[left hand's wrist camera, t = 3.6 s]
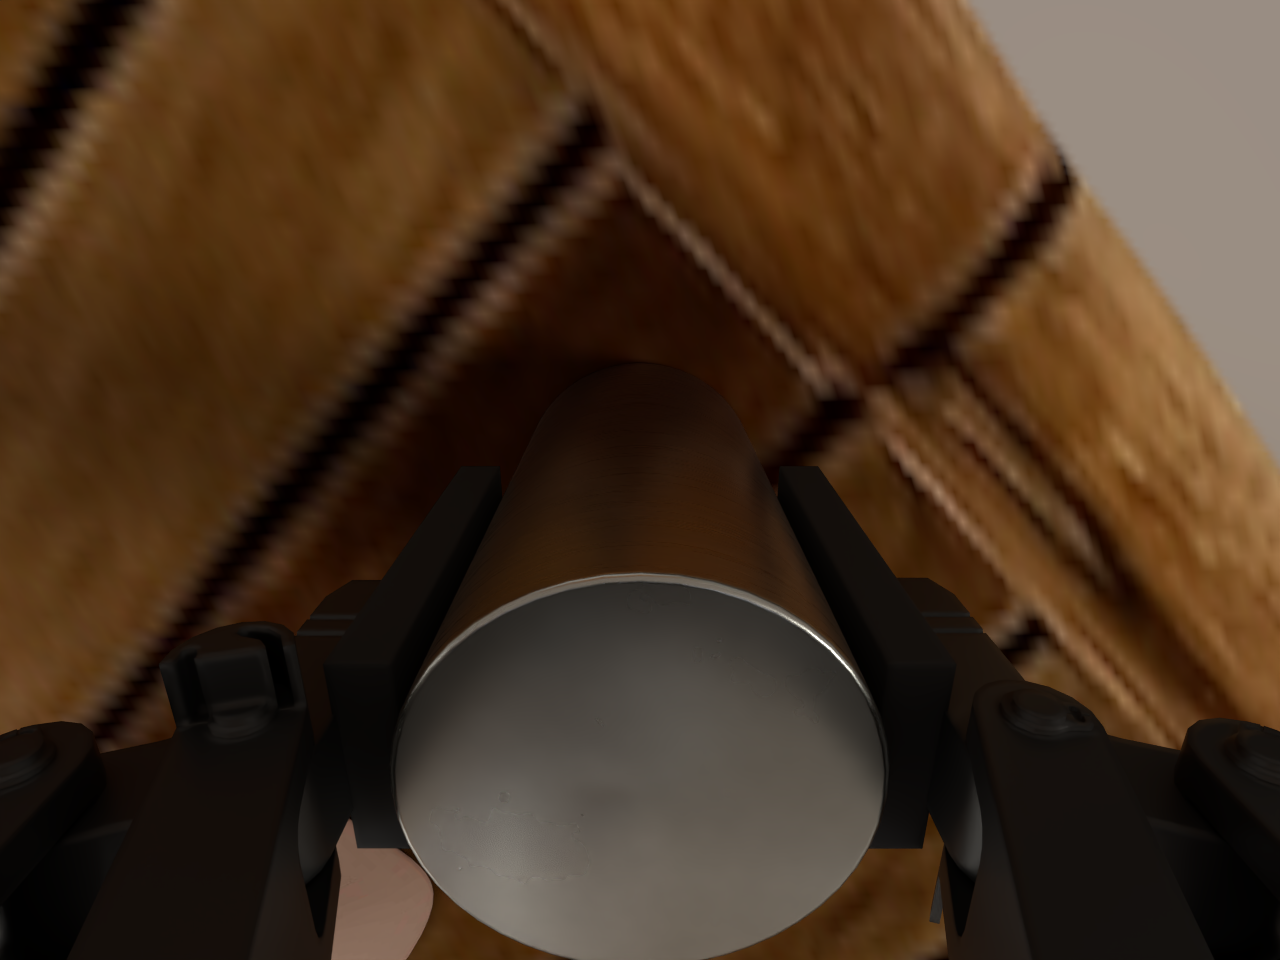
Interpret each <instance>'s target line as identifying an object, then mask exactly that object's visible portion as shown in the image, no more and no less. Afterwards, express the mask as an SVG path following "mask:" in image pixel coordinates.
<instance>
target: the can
mask: <svg viewBox="0 0 1280 960" xmlns="http://www.w3.org/2000/svg"><path fill="white" fill-rule="evenodd" d="M390 774H391V789H392V796H393V800H394V805H395V809H396V813H397V817H398V821H399V823H400V825H401V828H402V830H403V833H404V835H405V838H406V840H407V843H408V844H409V846H410V848H411V849H412V851H413V853H414V854H415V856H416V858H417V859H418V861H419V863H420V864H421V866H422V867H423V868H424V870H425V871H426V872H427V873H428V875H429V876H430V877H431V878H432V880H433V881H434V882H435V883H436V885H437V886H438V887H439V888H440V889H441V890H442V891H444V892H445V893H446V894H447V895H448V896H449V897H450V898H451V899H452V900H453V901H454V902H455V903H456V904H457V905H459V906H460V907H461V908H463V909H464V910H465V911H466V912H468V913H469V914H470V915H472V916H473V917H474V918H476V919H477V920H479V921H480V922H482V923H484V924H485V925H487V926H489V927H490V928H492V929H494V930H495V931H497V932H499V933H501V934H502V935H505V936H507V937H509V938H511V939H513V940H516V941H518V942H520V943H522V944H524V945H526V946H529V947H532V948H535V949H538V950H541V951H544V952H547V953H550V954H553V955H556V956H561V957H565V958H569V959H573V960H706V959H710V958H715V957H719V956H723V955H726V954H729V953H732V952H736V951H739V950H742V949H745V948H748V947H750V946H753V945H755V944H757V943H759V942H762V941H764V940H766V939H768V938H771V937H773V936H775V935H777V934H779V933H780V932H782V931H784V930H786V929H787V928H789V927H791V926H792V925H794V924H796V923H798V922H799V921H801V920H802V919H803V918H805V917H806V916H808V915H809V914H810V913H812V912H813V911H814V910H816V909H817V908H818V907H820V906H821V905H822V904H823V903H824V902H825V901H826V900H827V899H829V898H830V897H831V896H832V895H833V894H834V893H835V892H836V891H837V890H838V889H839V888H840V887H841V886H842V885H843V884H844V882H845V881H846V880H847V879H848V877H849V876H850V875H851V874H852V873H853V871H854V870H855V869H856V868H857V866H858V865H859V863H860V862H861V860H862V858H863V857H864V855H865V853H866V852H867V850H868V848H869V847H870V845H871V843H872V841H873V838H874V836H875V834H876V831H877V829H878V826H879V824H880V822H881V818H882V814H883V810H884V806H885V802H886V798H887V791H888V778H889V755H888V744H887V738H886V734H885V730H884V726H883V722H882V718H881V715H880V712H879V710H878V708H877V705H876V703H875V701H874V699H873V697H872V694H871V692H870V690H869V688H868V686H867V684H866V681H865V679H864V677H863V675H862V673H861V671H860V669H859V667H858V665H857V663H856V661H855V659H854V657H853V654H852V652H851V650H850V648H849V646H848V644H847V642H846V640H845V638H844V636H843V634H842V632H841V630H840V627H839V625H838V623H837V621H836V619H835V617H834V615H833V613H832V611H831V609H830V607H829V605H828V602H827V600H826V598H825V596H824V594H823V592H822V590H821V588H820V586H819V584H818V582H817V580H816V578H815V575H814V573H813V571H812V569H811V567H810V565H809V563H808V561H807V559H806V557H805V555H804V553H803V551H802V548H801V546H800V544H799V542H798V540H797V538H796V536H795V534H794V532H793V530H792V528H791V526H790V523H789V521H788V519H787V517H786V515H785V513H784V511H783V509H782V507H781V505H780V503H779V501H778V499H777V496H776V494H775V492H774V490H773V488H772V486H771V484H770V482H769V480H768V478H767V476H766V474H765V472H764V469H763V467H762V465H761V463H760V461H759V459H758V457H757V455H756V453H755V451H754V449H753V447H752V444H751V442H750V440H749V438H748V436H747V434H746V432H745V430H744V428H743V426H742V424H741V422H740V420H739V418H738V417H737V415H736V414H735V412H734V410H733V409H732V408H731V406H730V405H729V404H728V403H727V402H726V401H725V399H724V398H723V397H722V396H721V395H720V394H718V393H717V392H716V391H715V390H714V389H713V388H712V387H710V386H709V385H707V384H706V383H704V382H703V381H701V380H700V379H698V378H696V377H694V376H692V375H690V374H688V373H686V372H683V371H681V370H678V369H675V368H672V367H667V366H663V365H658V364H646V363H633V364H622V365H617V366H612V367H608V368H605V369H602V370H599V371H596V372H594V373H592V374H590V375H588V376H585V377H583V378H581V379H580V380H578V381H577V382H575V383H574V384H572V385H571V386H569V387H568V388H567V389H566V390H565V391H563V392H562V393H561V394H560V395H559V396H558V397H557V398H556V399H555V400H554V401H553V403H552V404H551V405H550V406H549V407H548V409H547V410H546V412H545V413H544V415H543V416H542V418H541V419H540V421H539V423H538V425H537V427H536V429H535V432H534V434H533V436H532V438H531V440H530V442H529V444H528V446H527V448H526V450H525V452H524V454H523V456H522V458H521V461H520V463H519V465H518V467H517V469H516V471H515V473H514V475H513V477H512V479H511V481H510V483H509V485H508V487H507V490H506V492H505V494H504V496H503V498H502V500H501V502H500V504H499V506H498V508H497V510H496V512H495V514H494V517H493V519H492V521H491V523H490V525H489V527H488V529H487V531H486V533H485V535H484V537H483V539H482V541H481V543H480V546H479V548H478V550H477V552H476V554H475V556H474V558H473V560H472V562H471V564H470V566H469V568H468V570H467V572H466V575H465V577H464V579H463V581H462V583H461V585H460V587H459V589H458V591H457V593H456V595H455V597H454V599H453V601H452V604H451V606H450V608H449V610H448V612H447V614H446V616H445V618H444V620H443V622H442V624H441V626H440V628H439V630H438V633H437V635H436V637H435V639H434V641H433V643H432V645H431V647H430V649H429V651H428V653H427V655H426V657H425V659H424V662H423V664H422V666H421V668H420V670H419V672H418V674H417V676H416V678H415V680H414V682H413V684H412V686H411V689H410V691H409V693H408V695H407V697H406V699H405V702H404V704H403V706H402V708H401V710H400V712H399V716H398V720H397V723H396V727H395V731H394V734H393V738H392V747H391V757H390Z"/></svg>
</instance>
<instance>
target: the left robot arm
mask: <svg viewBox="0 0 1280 960" xmlns="http://www.w3.org/2000/svg"><path fill="white" fill-rule="evenodd" d="M777 499H778V501H779V503H780V505H781V507H782V509H783V511H784V513H785V515H786V517H787V519H788V521H789V523H790V526H791V528H792V530H793V532H794V534H795V536H796V538H797V540H798V542H799V544H800V546H801V548H802V551H803V553H804V555H805V557H806V559H807V561H808V563H809V565H810V567H811V569H812V571H813V573H814V575H815V578H816V580H817V582H818V584H819V586H820V588H821V590H822V592H823V594H824V596H825V598H826V600H827V602H828V605H829V607H830V609H831V611H832V613H833V615H834V617H835V619H836V621H837V623H838V625H839V627H840V630H841V632H842V634H843V636H844V638H845V640H846V642H847V644H848V646H849V648H850V650H851V652H852V654H853V657H854V659H855V661H856V663H857V665H858V667H859V669H860V671H861V673H862V675H863V677H864V679H865V681H866V684H867V686H868V688H869V690H870V692H871V694H872V697H873V699H874V701H875V703H876V705H877V708H878V710H879V712H880V715H881V718H882V722H883V726H884V730H885V734H886V738H887V744H888V755H889V778H888V791H887V798H886V802H885V806H884V810H883V814H882V818H881V822H880V824H879V826H878V829H877V831H876V834H875V836H874V838H873V841H872V843H871V845H870V847H869V848H922V847H923V842H924V836H925V831H926V826H927V820H928V815H929V813H930V815H931V817H932V819H933V821H934V823H935V825H936V827H937V829H938V831H939V834H940V836H941V838H942V840H943V842H944V847H943V852H942V857H941V862H940V867H939V872H938V877H937V882H936V887H935V892H934V897H933V902H932V907H931V914H930V922H934V923H938V924H939V923H940V918H941V913H942V908H943V914H944V923H945V931H946V939H947V947H948V956H949V960H1280V732H1279V731H1277V730H1274V729H1272V728H1269V727H1266V726H1264V727H1262V726H1260V725H1259V724H1255V723H1251V722H1246V721H1239V720H1231V719H1224V718H1214V719H1206V720H1199V721H1197V722H1196V723H1195V724H1193V725H1192V726H1191V727H1189V728H1188V730H1187V733H1186V736H1185V739H1184V742H1183V745H1182V748H1181V751H1180V750H1175V749H1171V748H1166V747H1161V746H1156V745H1151V744H1146V743H1141V742H1137V741H1132V740H1127V739H1122V738H1118V737H1114V736H1111V735H1107V733H1106V731H1105V729H1104V727H1103V726H1102V724H1101V723H1100V722H1099V720H1098V719H1097V718H1096V717H1095V715H1094V714H1093V713H1092V711H1090V710H1089V709H1088V708H1086V707H1085V706H1083V705H1082V704H1081V703H1079V702H1078V701H1076V700H1075V699H1074V698H1072V697H1070V696H1068V695H1066V694H1063V693H1061V692H1059V691H1057V690H1055V689H1052V688H1050V687H1047V686H1043V685H1040V684H1036V683H1032V682H1028V681H1025V680H1024V679H1023V678H1022V676H1021V675H1020V674H1019V673H1018V671H1017V670H1016V669H1015V668H1014V667H1013V665H1012V664H1011V663H1010V662H1009V660H1008V659H1007V658H1006V657H1005V656H1004V654H1003V653H1002V652H1001V651H1000V650H999V648H998V647H997V646H996V645H995V643H994V642H993V641H992V640H991V639H990V637H989V636H988V635H987V634H986V633H983V629H982V628H981V626H980V625H979V624H978V623H977V622H976V620H975V619H974V618H973V617H970V613H969V612H968V611H967V609H966V608H965V607H964V606H963V605H962V603H961V602H960V601H959V600H958V599H957V597H956V596H955V595H954V594H953V593H951V592H950V591H948V590H946V589H945V588H943V587H942V586H940V585H938V584H937V583H935V582H933V581H932V580H930V579H929V578H896V577H895V575H894V574H893V573H892V571H891V570H890V568H889V567H888V565H887V564H886V563H885V561H884V560H883V558H882V557H881V555H880V554H879V553H878V551H877V550H876V548H875V547H874V545H873V544H872V543H871V541H870V540H869V538H868V537H867V535H866V534H865V533H864V531H863V530H862V528H861V527H860V526H859V524H858V523H857V521H856V520H855V518H854V517H853V516H852V514H851V513H850V511H849V510H848V508H847V507H846V506H845V504H844V503H843V501H842V500H841V498H840V497H839V496H838V494H837V493H836V491H835V490H834V488H833V487H832V486H831V484H830V483H829V481H828V480H827V478H826V477H825V476H824V474H823V473H822V471H821V470H820V468H819V467H818V466H780V469H779V483H778V496H777ZM501 500H502V489H501V476H500V466H461V468H460V469H459V471H458V472H457V473H456V475H455V476H454V478H453V479H452V481H451V482H450V483H449V485H448V486H447V488H446V489H445V491H444V492H443V493H442V495H441V496H440V498H439V499H438V501H437V502H436V503H435V505H434V506H433V508H432V509H431V511H430V512H429V513H428V515H427V516H426V518H425V519H424V521H423V522H422V523H421V525H420V526H419V528H418V529H417V530H416V532H415V533H414V535H413V536H412V538H411V539H410V540H409V542H408V543H407V545H406V546H405V548H404V549H403V550H402V552H401V553H400V555H399V556H398V558H397V559H396V560H395V562H394V563H393V565H392V566H391V568H390V569H389V570H388V572H387V573H386V575H385V576H384V578H383V579H382V580H352V581H350V582H349V583H347V584H345V585H344V586H342V587H341V588H339V589H337V590H336V591H334V592H333V593H331V594H329V595H328V596H326V597H325V598H324V600H323V601H322V602H321V603H320V605H319V606H318V607H317V608H316V609H315V611H314V612H313V613H312V614H311V616H310V620H306V622H305V623H304V624H303V625H302V627H301V628H300V629H299V630H298V631H297V636H294V633H293V632H292V631H290V630H289V629H288V628H286V627H285V626H284V625H281V624H276V623H271V622H266V621H260V622H241V623H237V624H232V625H228V626H223V627H218V628H215V629H213V630H210V631H207V632H205V633H202V634H200V635H197V636H195V637H192V638H191V639H189V640H187V641H186V642H184V643H182V644H181V645H179V646H178V647H176V648H174V649H173V650H171V651H170V653H169V654H168V655H167V656H166V657H165V658H164V659H163V660H162V661H161V662H160V663H159V667H160V670H161V674H162V677H163V681H164V684H165V688H166V691H167V695H168V698H169V702H170V705H171V709H172V712H173V716H174V720H175V723H176V727H177V728H176V730H175V732H174V735H173V737H172V738H170V739H166V740H162V741H159V742H154V743H149V744H144V745H139V746H135V747H130V748H125V749H120V750H115V751H110V752H106V753H101V754H100V753H99V750H98V747H97V744H96V741H95V738H94V735H93V732H92V731H91V730H89V729H88V728H87V727H85V726H84V725H83V724H81V723H72V722H64V721H59V722H52V723H44V724H37V725H31V726H27V727H23V728H20V730H17V729H16V730H13V731H10V732H7V733H5V734H2V735H0V960H331V958H332V949H333V941H334V933H335V925H336V916H337V908H338V900H339V891H340V883H341V870H340V862H339V857H338V852H337V847H336V845H337V842H338V840H339V838H340V836H341V834H342V832H343V830H344V828H345V826H346V824H347V822H348V820H349V817H350V815H351V818H352V823H353V828H354V834H355V839H356V844H357V848H410V846H409V844H408V843H407V840H406V838H405V835H404V833H403V830H402V828H401V825H400V823H399V821H398V817H397V813H396V809H395V805H394V800H393V796H392V789H391V774H390V757H391V747H392V738H393V734H394V731H395V727H396V723H397V720H398V716H399V712H400V710H401V708H402V706H403V704H404V702H405V699H406V697H407V695H408V693H409V691H410V689H411V686H412V684H413V682H414V680H415V678H416V676H417V674H418V672H419V670H420V668H421V666H422V664H423V662H424V659H425V657H426V655H427V653H428V651H429V649H430V647H431V645H432V643H433V641H434V639H435V637H436V635H437V633H438V630H439V628H440V626H441V624H442V622H443V620H444V618H445V616H446V614H447V612H448V610H449V608H450V606H451V604H452V601H453V599H454V597H455V595H456V593H457V591H458V589H459V587H460V585H461V583H462V581H463V579H464V577H465V575H466V572H467V570H468V568H469V566H470V564H471V562H472V560H473V558H474V556H475V554H476V552H477V550H478V548H479V546H480V543H481V541H482V539H483V537H484V535H485V533H486V531H487V529H488V527H489V525H490V523H491V521H492V519H493V517H494V514H495V512H496V510H497V508H498V506H499V504H500V502H501Z"/></svg>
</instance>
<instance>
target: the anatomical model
mask: <svg viewBox="0 0 1280 960" xmlns="http://www.w3.org/2000/svg"><path fill="white" fill-rule="evenodd" d="M336 847H337V852H338V857H339V862H340V870H341V883H340V891H339V900H338V908H337V916H336V925H335V933H334V941H333V949H332V958H331V960H406V959H407V957H408V956H409V955H410V953H411V951H412V950H413V948H414V946H415V944H416V943H417V941H418V939H419V938H420V936H421V934H422V932H423V930H424V928H425V925H426V923H427V921H428V918H429V915H430V912H431V909H432V905H433V888H432V885H431V882H430V880H429V878H428V876H427V874H426V873H425V872H424V871H423V870H422V868H421V867H420V866H419V865H418V864H417V863H416V862H415V861H414V860H412V859H411V858H410V857H409V856H407V855H406V854H405V853H403V852H402V851H400V850H399V849H398V848H357V844H356V839H355V834H354V828H353V823H352V820H351V819H349V820H348V822H347V824H346V826H345V828H344V830H343V832H342V834H341V836H340V838H339V840H338V842H337V845H336Z"/></svg>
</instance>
